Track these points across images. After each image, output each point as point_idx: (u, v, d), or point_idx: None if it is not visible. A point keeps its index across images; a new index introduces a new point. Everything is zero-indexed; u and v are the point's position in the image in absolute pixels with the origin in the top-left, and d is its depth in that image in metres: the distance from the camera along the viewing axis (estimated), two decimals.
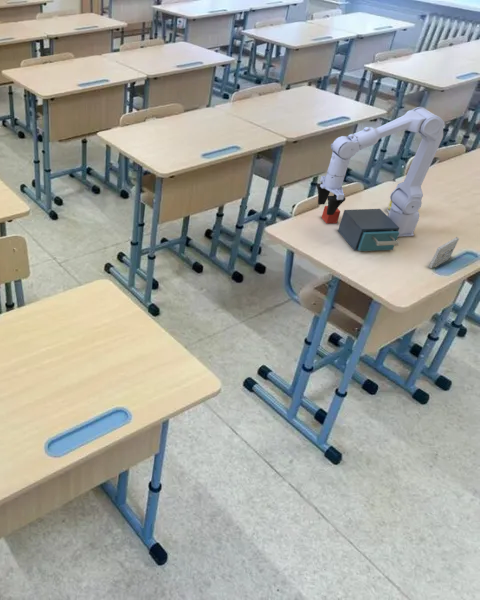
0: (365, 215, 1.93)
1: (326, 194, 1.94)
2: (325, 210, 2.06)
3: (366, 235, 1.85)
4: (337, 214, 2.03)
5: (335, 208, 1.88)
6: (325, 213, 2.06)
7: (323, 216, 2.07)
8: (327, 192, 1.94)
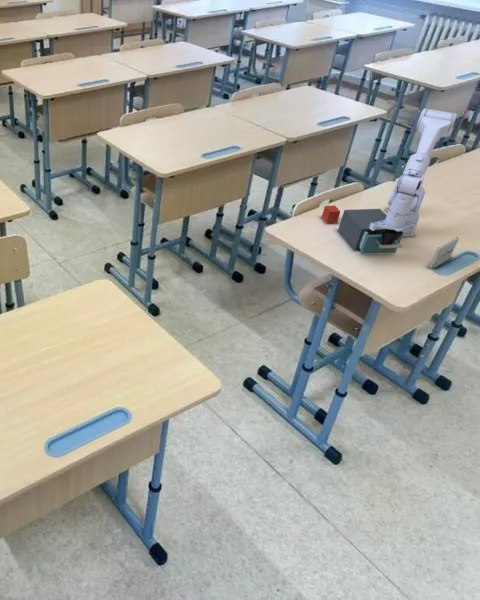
0: (365, 215, 1.93)
1: None
2: (325, 210, 2.06)
3: (369, 238, 1.83)
4: (337, 214, 2.03)
5: None
6: (325, 213, 2.06)
7: (323, 216, 2.07)
8: None
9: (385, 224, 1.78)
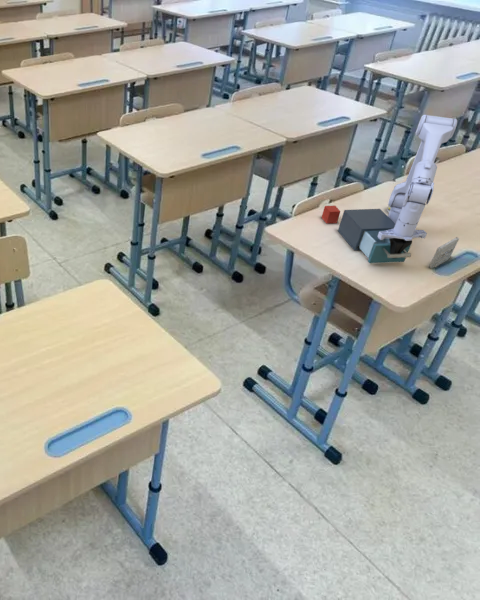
0: (365, 215, 1.93)
1: None
2: (325, 210, 2.06)
3: (377, 247, 1.79)
4: (337, 214, 2.03)
5: None
6: (325, 213, 2.06)
7: (323, 216, 2.07)
8: None
9: (394, 233, 1.73)
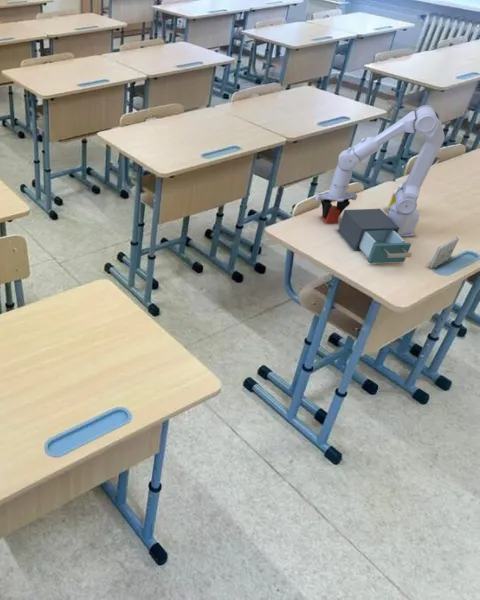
0: (365, 215, 1.93)
1: None
2: None
3: (377, 247, 1.79)
4: (337, 214, 2.03)
5: None
6: None
7: None
8: None
9: (329, 195, 2.01)
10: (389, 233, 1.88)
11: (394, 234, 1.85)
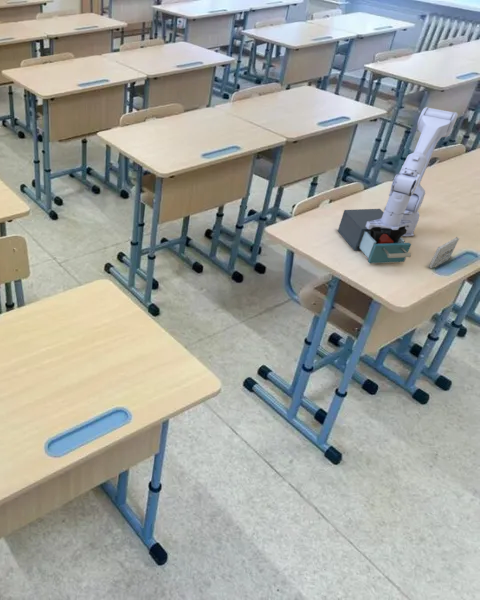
0: (365, 215, 1.93)
1: None
2: None
3: (377, 247, 1.79)
4: None
5: None
6: None
7: None
8: None
9: (381, 223, 1.80)
10: (389, 233, 1.88)
11: None
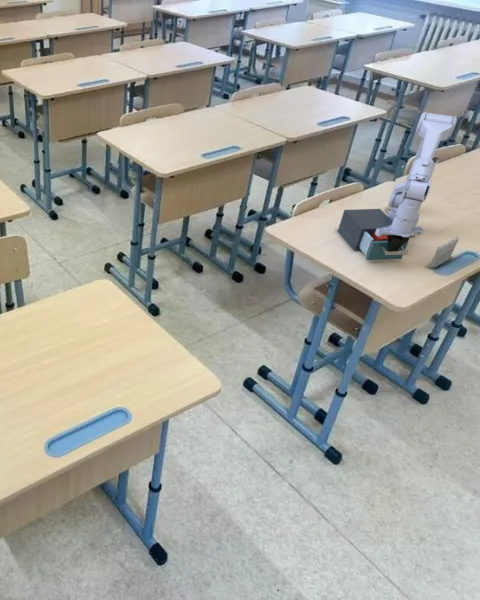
0: (365, 215, 1.93)
1: None
2: (373, 237, 1.87)
3: (374, 244, 1.80)
4: None
5: None
6: None
7: None
8: None
9: (391, 230, 1.75)
10: None
11: None
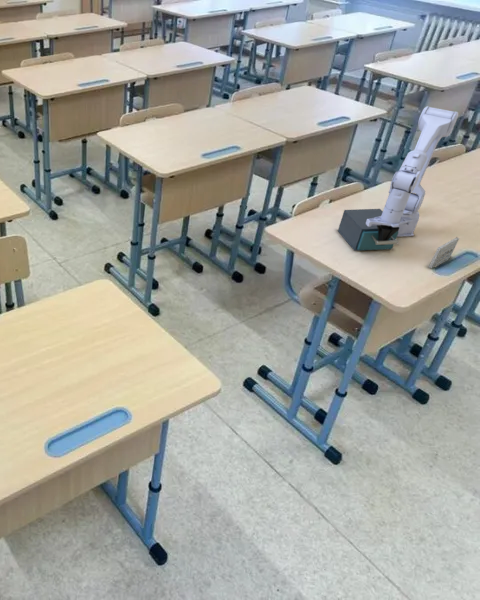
0: (365, 215, 1.93)
1: None
2: None
3: (365, 234, 1.85)
4: None
5: None
6: None
7: None
8: None
9: (381, 220, 1.80)
10: None
11: None
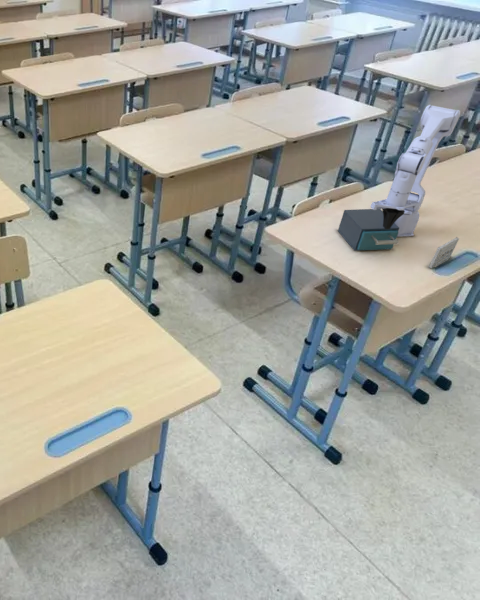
0: (365, 215, 1.93)
1: None
2: None
3: (365, 234, 1.85)
4: None
5: None
6: None
7: None
8: None
9: (387, 203, 1.76)
10: None
11: None
